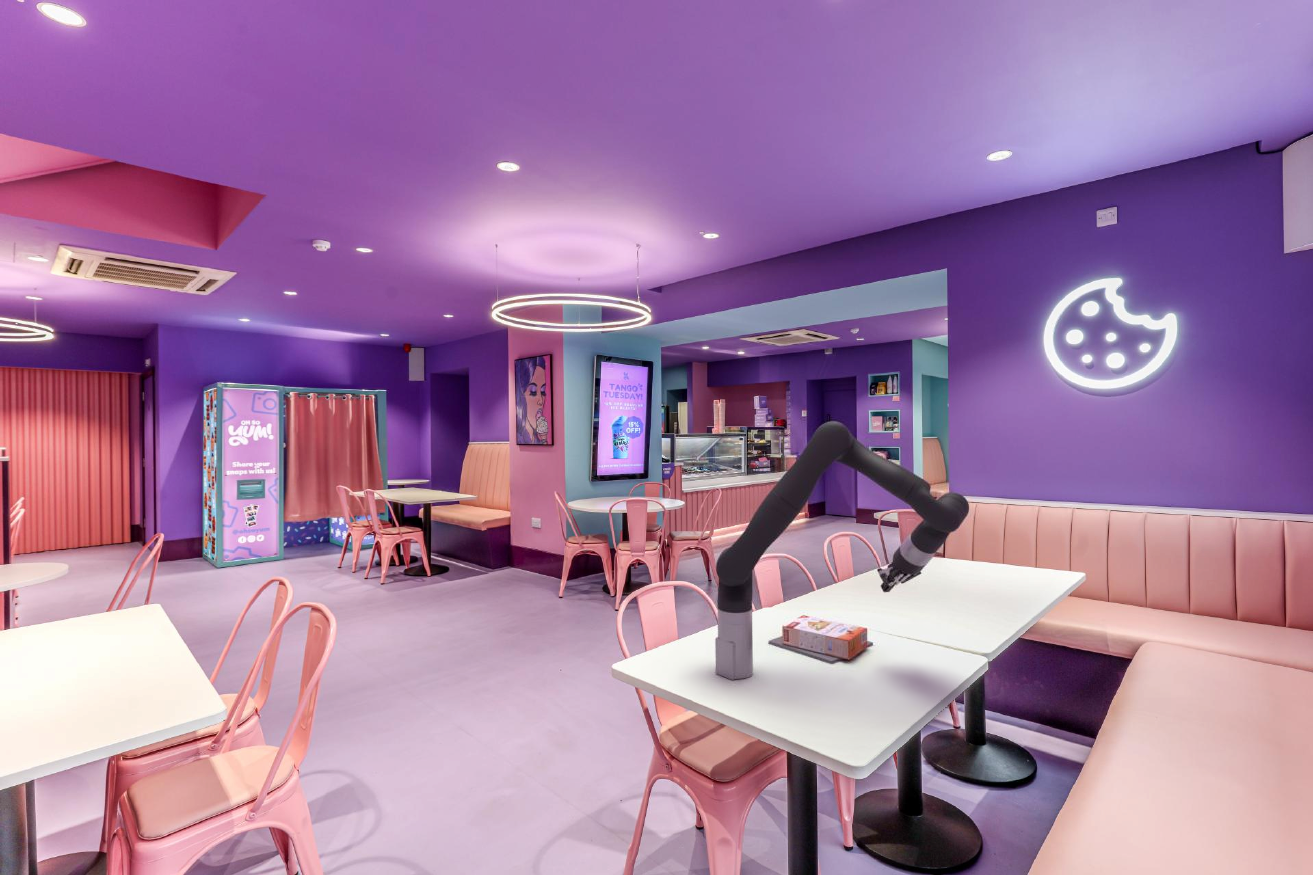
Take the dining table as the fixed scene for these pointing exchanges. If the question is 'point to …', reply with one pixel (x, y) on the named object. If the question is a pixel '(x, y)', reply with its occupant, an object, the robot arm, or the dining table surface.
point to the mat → (809, 651)
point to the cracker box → (825, 636)
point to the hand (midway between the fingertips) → (884, 589)
